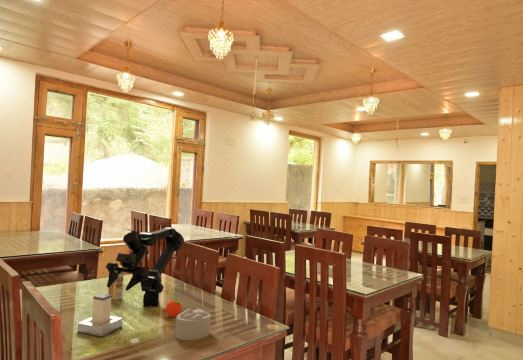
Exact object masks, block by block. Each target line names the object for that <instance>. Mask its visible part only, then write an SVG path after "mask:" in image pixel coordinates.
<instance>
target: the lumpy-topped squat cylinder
mask: <svg viewBox="0 0 523 360" xmlns="http://www.w3.org/2000/svg"><path fill="white" fill-rule="evenodd" d="M211 321H212V314H210V313H208V312H207V311H205V310H204V309H202V308H196V309H192V308H186V309H185V310H183V311H181V313H180V314H179V315H178V316H176V317H175V332H174V338H175V339H177V340H180V341H182V340H183V341H194V340H199V339H203V338H205V337H209V336H210V335H211Z"/></svg>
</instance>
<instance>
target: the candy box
mask: <svg viewBox="0 0 523 360" xmlns="http://www.w3.org/2000/svg"><path fill="white" fill-rule="evenodd" d="M118 265H119V264H118ZM119 267H122V265H121V264H120V265H119ZM118 276H119V277H118V278H117V279H116V280H115V281H114V282H113V284H112V285H111V286H110V287H109V288H108V287H107V294H110V295H111V300H113V301H118V300H123V296H124V295H123V294H124V276H125V272H121V273H120V274H119V275H118Z"/></svg>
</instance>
